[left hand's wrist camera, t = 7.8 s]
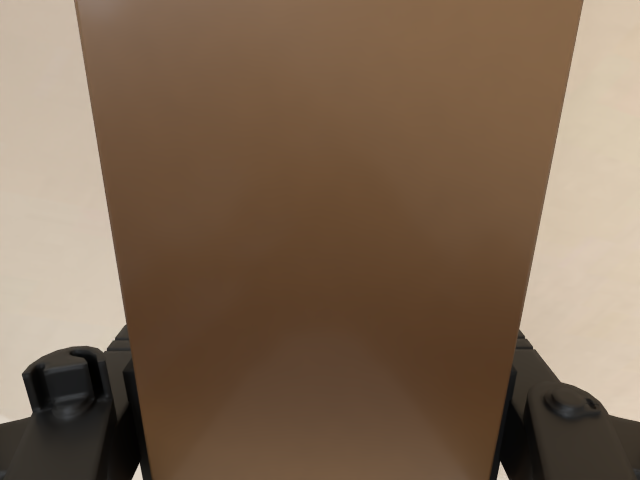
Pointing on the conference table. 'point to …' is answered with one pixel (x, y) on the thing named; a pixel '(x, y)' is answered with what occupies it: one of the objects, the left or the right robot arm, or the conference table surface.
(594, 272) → the conference table surface
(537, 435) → the left robot arm
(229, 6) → the bar
